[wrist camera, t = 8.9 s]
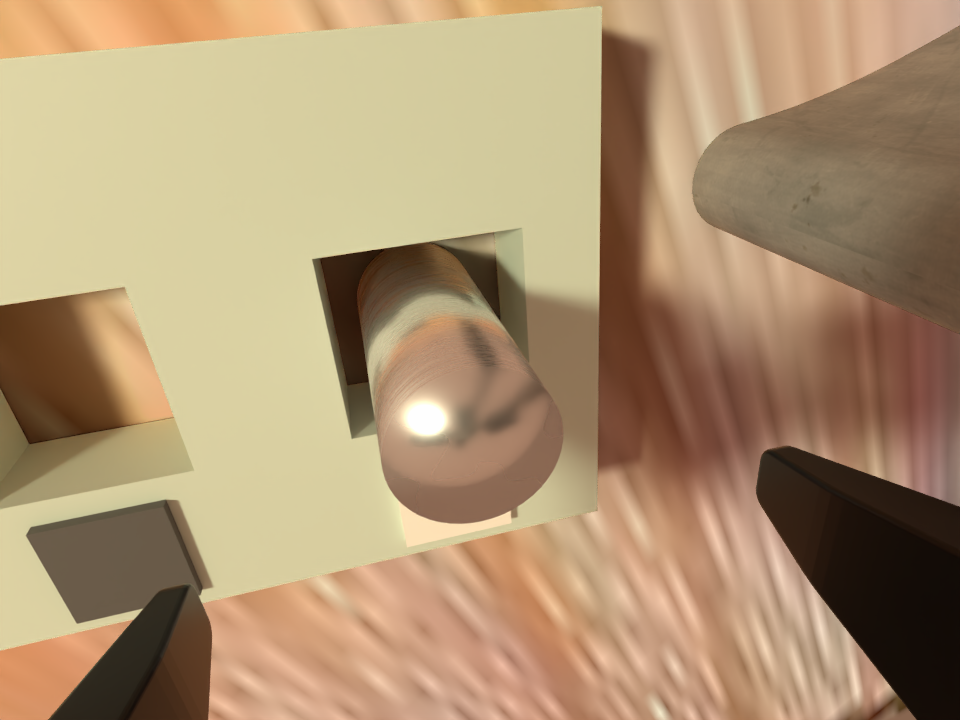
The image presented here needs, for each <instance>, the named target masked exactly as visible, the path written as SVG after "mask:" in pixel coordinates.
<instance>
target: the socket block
mask: <svg viewBox="0 0 960 720" xmlns="http://www.w3.org/2000/svg"><path fill="white" fill-rule="evenodd" d="M601 60H602V6H596V7H585V8H574V9H562V10H551V11H539V12H528V13H517V14H505V15H494V16H483V17H471V18H460V19H448V20H437V21H426V22H414V23H403V24H392V25H380V26H369V27H357V28H346V29H335V30H323V31H312V32H301V33H289V34H278V35H266V36H255V37H244V38H232V39H221V40H210V41H198V42H187V43H175V44H164V45H153V46H141V47H130V48H119V49H107V50H96V51H84V52H73V53H62V54H50V55H39V56H28V57H16V58H5V59H0V305H7V304H14V303H20V302H27V301H34V300H41V299H47V298H54V297H61V296H67V295H74V294H81V293H88V292H94V291H101V290H108V289H114V288H121V287H125V289H126V292H127V295H128V297H129V300H130V302H131V305H132V308H133V310H134V313H135V316H136V318H137V321H138V323H139V326H140V329H141V331H142V334H143V337H144V339H145V342H146V345H147V347H148V350H149V352H150V355H151V358H152V360H153V363H154V366H155V368H156V371H157V373H158V376H159V379H160V381H161V384H162V387H163V389H164V392H165V395H166V397H167V400H168V402H169V405H170V408H171V410H172V413H173V416H174V418H169V419H164V420H158V421H153V422H148V423H142V424H137V425H131V426H126V427H121V428H115V429H110V430H104V431H99V432H93V433H88V434H83V435H77V436H72V437H66V438H61V439H55V440H50V441H45V442H39V443H34V444H29V442H28V441H27V439H26V437H25V435H24V433H23V431H22V429H21V427H20V425H19V423H18V421H17V420H16V418H15V416H14V414H13V412H12V410H11V408H10V406H9V404H8V402H7V401H6V399H5V397H4V395H3V393H2V391H1V389H0V650H5V649H9V648H13V647H17V646H22V645H26V644H30V643H35V642H39V641H43V640H47V639H52V638H56V637H60V636H64V635H69V634H73V633H77V632H82V631H86V630H90V629H94V628H99V627H103V626H107V625H111V624H116V623H120V622H124V621H129V620H133V619H135V618H136V617H137V615H138V614H139V613H140V612H141V611H142V610H143V608H144V607H145V606H146V605H147V604H148V603H149V601H150V600H151V599H152V598H153V597H154V596H155V594H156V593H157V592H159V591H160V590H161V589H164V588H167V587H172V586H176V585H181V584H185V583H189V584H192V585H193V586H194V587H195V589H196V590H197V593H198V595H199V597H200V600H201V602H202V603H205V602H210V601H214V600H218V599H223V598H227V597H231V596H235V595H240V594H244V593H248V592H252V591H257V590H261V589H265V588H270V587H274V586H278V585H282V584H287V583H291V582H295V581H299V580H304V579H308V578H312V577H317V576H321V575H325V574H329V573H334V572H338V571H342V570H346V569H351V568H355V567H359V566H364V565H368V564H372V563H376V562H381V561H385V560H389V559H393V558H398V557H402V556H406V555H411V554H415V553H419V552H423V551H428V550H432V549H436V548H440V547H445V546H449V545H453V544H458V543H462V542H466V541H470V540H475V539H479V538H483V537H487V536H492V535H496V534H500V533H505V532H509V531H513V530H517V529H522V528H526V527H530V526H534V525H539V524H543V523H547V522H552V521H556V520H560V519H564V518H569V517H573V516H577V515H581V514H586V513H590V512H594V511H597V493H598V385H599V276H600V168H601ZM491 232H494V237H495V251H496V264H497V278H498V291H499V305H500V319H501V323H502V324H503V326H504V327H505V329H506V330H507V332H508V333H509V335H510V336H511V338H512V339H513V341H514V342H515V344H516V345H517V347H518V348H519V349H520V351H521V352H522V354H523V355H524V357H525V358H526V360H527V361H528V363H529V364H530V366H531V367H532V369H533V370H534V372H535V373H536V375H537V376H538V378H539V379H540V381H541V382H542V384H543V385H544V386H545V388H546V389H547V391H548V392H549V394H550V395H551V397H552V398H553V400H554V401H555V403H556V405H557V407H558V409H559V412H560V415H561V418H562V422H563V444H562V449H561V453H560V456H559V459H558V462H557V464H556V466H555V468H554V470H553V472H552V473H551V475H550V476H549V478H548V479H547V481H546V482H545V483H544V484H543V486H542V487H541V488H540V489H539V490H538V491H537V492H536V493H535V494H534V495H533V496H532V497H530V498H529V499H528V500H527V501H525V502H524V503H523V504H521V505H519V506H518V507H516V508H515V509H513V510H511V511H509V512H507V513H505V514H503V515H500V516H498V517H495V518H492V519H488V520H485V521H481V522H475V523H466V524H449V523H442V522H437V521H433V520H429V519H427V518H424V517H422V516H419V515H417V514H416V513H414V512H412V511H410V510H409V509H408V508H406V507H405V506H404V505H402V504H401V503H400V502H399V501H398V499H397V498H396V497H395V496H394V495H393V493H392V492H391V490H390V489H389V487H388V485H387V483H386V481H385V478H384V474H383V471H382V465H381V458H380V451H379V445H378V438H377V431H376V424H375V418H374V411H373V404H372V398H371V391H370V384H369V382H365V383H359V384H354V385H348V386H347V381H346V376H345V372H344V367H343V362H342V358H341V353H340V348H339V344H338V339H337V334H336V330H335V325H334V320H333V316H332V311H331V306H330V302H329V297H328V292H327V288H326V283H325V279H324V274H323V269H322V265H321V260H320V258H323V257H329V256H336V255H343V254H350V253H356V252H363V251H370V250H377V249H383V248H390V247H397V246H403V245H410V244H417V243H424V242H430V241H437V240H444V239H450V238H457V237H464V236H471V235H477V234H484V233H491Z"/></svg>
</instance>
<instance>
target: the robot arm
mask: <svg viewBox="0 0 960 720" xmlns="http://www.w3.org/2000/svg"><path fill="white" fill-rule="evenodd" d="M756 494H757V498H758V501H759V503H760V505H761V507H762V508H763V510H764V511H765V513H766V514H767V516H768V518H769V519H770V521H771V522H772V524H773V525H774V527H775V529H776V530H777V532H778V533H779V535H780V536H781V538H782V540H783V541H784V543H785V544H786V546H787V548H788V549H789V551H790V552H791V554H792V555H793V557H794V559H795V560H796V562H797V563H798V565H799V566H800V568H801V570H802V571H803V573H804V574H805V575H806V577H807V578H808V580H809V581H810V583H811V584H812V586H813V587H814V588H815V590H816V591H817V592H818V594H819V595H820V596H821V598H822V599H823V600H824V601H825V603H826V604H827V605H828V607H829V608H830V609H831V610H832V612H833V613H834V614H835V616H836V617H837V618H838V619H839V621H840V622H841V623H842V625H843V626H844V627H845V628H846V630H847V631H848V632H849V634H850V635H851V636H852V637H853V639H854V640H855V641H856V643H857V644H858V645H859V646H860V648H861V649H862V650H863V652H864V653H865V654H866V655H867V657H868V658H869V659H870V661H871V662H872V663H873V664H874V666H875V667H876V668H877V670H878V671H879V672H880V673H881V675H882V676H883V677H884V679H885V680H886V681H887V682H888V684H889V685H890V686H891V688H892V689H893V690H894V691H895V693H896V694H897V695H898V697H899V698H900V699H901V700H902V702H903V703H904V704H905V706H906V707H907V708H908V709H909V711H910V712H911V713H912V715H913V716H914V717H915V718H916V720H960V507H959V506H956V505H953V504H951V503H948V502H945V501H942V500H939V499H937V498H934V497H931V496H928V495H925V494H923V493H920V492H917V491H914V490H911V489H909V488H906V487H903V486H900V485H898V484H895V483H892V482H889V481H886V480H884V479H881V478H878V477H875V476H872V475H870V474H867V473H864V472H861V471H859V470H856V469H853V468H850V467H847V466H845V465H842V464H839V463H836V462H833V461H831V460H828V459H825V458H822V457H820V456H817V455H814V454H811V453H808V452H806V451H803V450H800V449H797V448H794V447H791V446H782V447H777V448H773V449H769V450H766V451H765V452H764V453H763V454H762V456H761V461H760V467H759V473H758V479H757V485H756ZM211 649H212V630H211V625H210V621H209V619H208V616H207V614H206V612H205V609H204V607H203V604H202V602H201V600H200V597H199V595H198V593H197V590H196V589H195V587H194V586H193V585H192V584H189V583H185V584H181V585H176V586H172V587H167V588H164V589H161V590H160V591H159V592H157V593H156V594H155V596H154V597H153V598H152V599H151V600H150V601H149V603H148V604H147V605H146V606H145V607H144V608H143V610H142V611H141V612H140V613H139V614H138V615H137V617H136V618H135V619H134V620H133V621H132V622H131V624H130V625H129V626H128V627H127V628H126V629H125V631H124V632H123V633H122V634H121V635H120V636H119V638H118V639H117V640H116V641H115V642H114V643H113V645H112V646H111V647H110V648H109V649H108V650H107V652H106V653H105V654H104V655H103V656H102V657H101V659H100V660H99V661H98V662H97V663H96V664H95V666H94V667H93V668H92V669H91V670H90V671H89V673H88V674H87V675H86V676H85V677H84V678H83V680H82V681H81V682H80V683H79V684H78V685H77V687H76V688H75V689H74V690H73V691H72V692H71V694H70V695H69V696H68V697H67V698H66V699H65V701H64V702H63V703H62V704H61V705H60V706H59V708H58V709H57V710H56V711H55V712H54V713H53V715H52V716H51V717H50V718H49V719H48V720H208V712H209V691H210V670H211Z"/></svg>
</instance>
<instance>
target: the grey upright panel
mask: <svg viewBox="0 0 960 720" xmlns="http://www.w3.org/2000/svg"><path fill="white" fill-rule="evenodd" d="M692 193H693V200H694V204H695V206H696V209H697V211H698V213H699V214H700V216H701V217H702V218H703V219H704V220H705V221H706V222H707V223H709V224H710V225H712V226H714V227H716V228H718V229H721V230H723V231H725V232H728V233H730V234H732V235H734V236H737V237H739V238H741V239H744V240H746V241H748V242H750V243H753V244H755V245H757V246H760V247H762V248H764V249H766V250H769V251H771V252H773V253H776V254H778V255H780V256H782V257H785V258H787V259H789V260H791V261H794V262H796V263H798V264H801V265H803V266H805V267H807V268H810V269H812V270H814V271H817V272H819V273H821V274H823V275H826V276H828V277H830V278H833V279H835V280H837V281H839V282H842V283H844V284H846V285H849V286H851V287H853V288H855V289H858V290H860V291H862V292H865V293H867V294H869V295H871V296H874V297H876V298H878V299H881V300H883V301H885V302H887V303H890V304H892V305H894V306H896V307H899V308H901V309H903V310H906V311H908V312H910V313H912V314H915V315H917V316H919V317H922V318H924V319H926V320H928V321H931V322H933V323H935V324H938V325H940V326H942V327H944V328H947V329H949V330H951V331H954V332H956V333H958V334H960V26H958V27H956V28H955V29H953V30H951V31H950V32H948V33H946V34H944V35H942V36H941V37H939V38H937V39H935V40H933V41H932V42H930V43H928V44H926V45H924V46H923V47H921V48H919V49H917V50H915V51H913V52H912V53H910V54H908V55H906V56H904V57H902V58H900V59H899V60H897V61H895V62H893V63H891V64H889V65H887V66H885V67H883V68H881V69H879V70H877V71H875V72H873V73H871V74H869V75H867V76H865V77H863V78H861V79H859V80H857V81H855V82H852V83H850V84H848V85H846V86H843V87H841V88H839V89H837V90H834V91H832V92H830V93H828V94H825V95H823V96H820V97H818V98H815V99H813V100H810V101H808V102H805V103H803V104H800V105H798V106H795V107H792V108H789V109H787V110H784V111H781V112H778V113H775V114H772V115H769V116H766V117H763V118H760V119H756V120H753V121H750V122H746V123H743V124H740V125H737V126H735V127H732V128H730V129H728V130H726V131H725V132H723V133H722V134H720V135H719V136H718V137H717V138H716V139H715V140H714V141H712V143H711V144H710V145H709V146H708V148H707V149H706V150H705V152H704V153H703V155H702V157H701V158H700V160H699V162H698V165H697V168H696V170H695V174H694V179H693V190H692Z"/></svg>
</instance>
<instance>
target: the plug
mask: <svg viewBox="0 0 960 720" xmlns="http://www.w3.org/2000/svg"><path fill="white" fill-rule="evenodd" d="M357 303H358V311H359V317H360V324H361V331H362V337H363V344H364V351H365V358H366V364H367V371H368V378H369V384H370V391H371V398H372V404H373V411H374V418H375V424H376V431H377V438H378V445H379V451H380V458H381V465H382V471H383V474H384V478H385V481H386V483H387V485H388V487H389V489H390V490H391V492H392V493H393V495H394V496H395V497H396V498H397V499H398V501H399V502H400V503H401V504H402V505H404V506H405V507H406V508H408V509H409V510H410V511H412V512H414V513H416V514H417V515H419V516H422V517H424V518H427V519H429V520H433V521H437V522H442V523H449V524H466V523H475V522H481V521H485V520H488V519H492V518H495V517H498V516H500V515H503V514H505V513H507V512H509V511H511V510H513V509H515V508H516V507H518V506H519V505H521V504H523V503H524V502H525V501H527V500H528V499H529V498H530V497H532V496H533V495H534V494H535V493H536V492H537V491H538V490H539V489H540V488H541V487H542V486H543V484H544V483H545V482H546V481H547V479H548V478H549V476H550V475H551V473H552V472H553V470H554V468H555V466H556V464H557V462H558V459H559V456H560V453H561V449H562V444H563V422H562V418H561V415H560V412H559V409H558V407H557V405H556V403H555V401H554V400H553V398H552V397H551V395H550V394H549V392H548V391H547V389H546V388H545V386H544V385H543V384H542V382H541V381H540V379H539V378H538V376H537V375H536V373H535V372H534V370H533V369H532V367H531V366H530V364H529V363H528V361H527V360H526V358H525V357H524V355H523V354H522V352H521V351H520V349H519V348H518V347H517V345H516V344H515V342H514V341H513V339H512V338H511V336H510V335H509V333H508V332H507V330H506V329H505V327H504V326H503V324H502V323H501V321H500V320H499V318H498V317H497V315H496V314H495V313H494V311H493V310H492V308H491V307H490V305H489V304H488V302H487V301H486V299H485V298H484V296H483V295H482V293H481V292H480V290H479V289H478V287H477V286H476V284H475V283H474V281H473V280H472V278H471V277H470V276H469V274H468V273H467V271H466V270H465V268H464V267H463V265H462V264H461V262H460V261H459V260H458V259H457V258H456V257H455V256H454V255H453V254H452V253H450V252H449V251H447V250H446V249H444V248H442V247H440V246H438V245H435V244H432V243H427V242H424V243H417V244H410V245H403V246H397V247H390V248H388V249H386V250H384V251H383V252H382V253H380V254H379V255H378V256H376V257H375V258H374V259H373V260H372V261H371V262H370V264H369V265H368V266H367V268H366V269H365V271H364V273H363V275H362V277H361V279H360V282H359V285H358V291H357Z"/></svg>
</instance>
